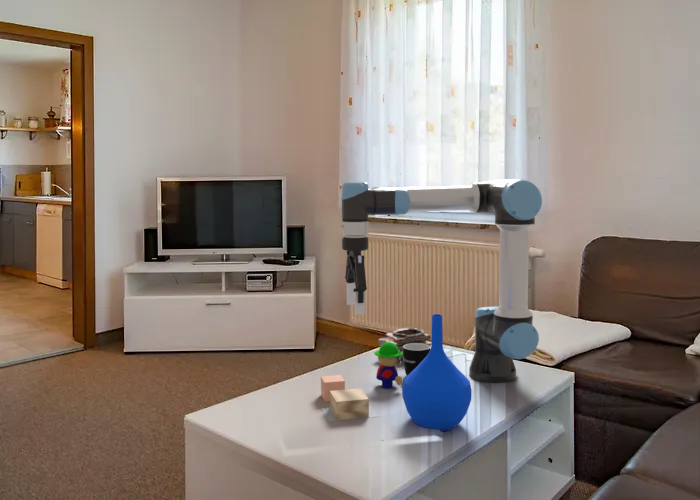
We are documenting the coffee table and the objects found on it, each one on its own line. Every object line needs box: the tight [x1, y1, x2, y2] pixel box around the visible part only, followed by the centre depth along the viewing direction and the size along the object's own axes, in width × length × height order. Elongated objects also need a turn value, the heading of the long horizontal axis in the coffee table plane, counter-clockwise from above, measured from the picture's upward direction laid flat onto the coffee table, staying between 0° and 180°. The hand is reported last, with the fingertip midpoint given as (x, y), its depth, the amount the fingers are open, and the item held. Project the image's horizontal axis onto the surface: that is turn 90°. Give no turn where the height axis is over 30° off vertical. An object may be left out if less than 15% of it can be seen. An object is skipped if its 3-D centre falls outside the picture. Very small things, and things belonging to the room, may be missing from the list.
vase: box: [401, 313, 473, 432], centre depth 172 cm, size 18×18×30 cm
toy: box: [373, 342, 404, 390], centre depth 201 cm, size 11×9×15 cm
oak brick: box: [329, 388, 370, 421], centre depth 179 cm, size 9×9×5 cm
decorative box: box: [377, 327, 431, 360], centre depth 235 cm, size 13×20×10 cm, turn 118°
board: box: [320, 403, 379, 422], centre depth 180 cm, size 14×10×1 cm
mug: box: [402, 343, 431, 377], centre depth 213 cm, size 12×9×10 cm
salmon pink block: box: [320, 374, 346, 403], centre depth 191 cm, size 6×6×7 cm
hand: (355, 309), depth 188 cm, fingers open, 13 cm apart
